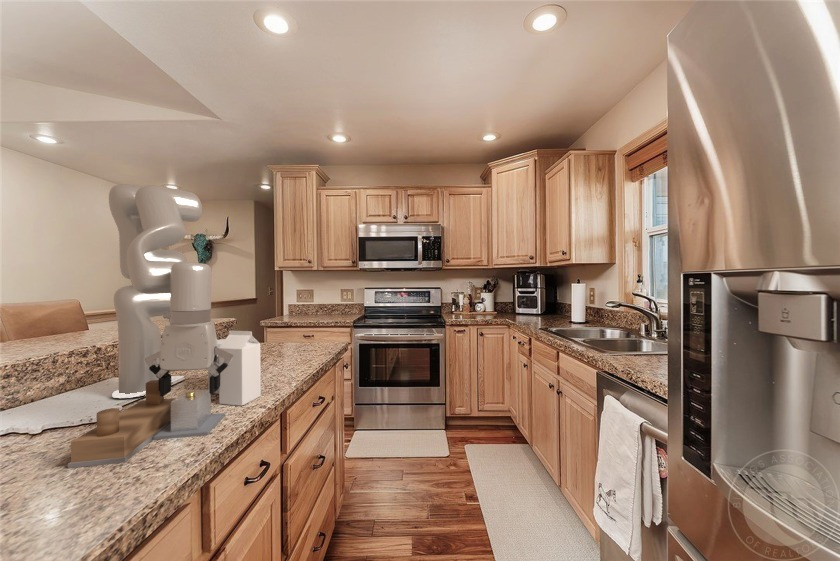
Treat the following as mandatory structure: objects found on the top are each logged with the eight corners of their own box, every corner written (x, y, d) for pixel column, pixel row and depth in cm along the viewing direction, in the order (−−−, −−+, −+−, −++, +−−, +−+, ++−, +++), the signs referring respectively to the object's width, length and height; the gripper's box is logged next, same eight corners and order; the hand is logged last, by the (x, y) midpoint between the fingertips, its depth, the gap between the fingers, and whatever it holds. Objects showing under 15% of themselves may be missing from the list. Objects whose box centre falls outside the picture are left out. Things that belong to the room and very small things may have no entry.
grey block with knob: (186, 418, 76) (186, 387, 76) (210, 416, 77) (210, 385, 77) (170, 432, 69) (170, 398, 69) (197, 429, 70) (197, 396, 70)
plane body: (141, 419, 77) (140, 379, 77) (182, 415, 79) (181, 376, 79) (67, 468, 57) (67, 414, 57) (125, 462, 59) (124, 409, 59)
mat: (178, 419, 76) (178, 417, 76) (225, 415, 79) (225, 413, 79) (153, 439, 67) (153, 437, 67) (207, 434, 69) (207, 431, 69)
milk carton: (242, 406, 84) (241, 333, 84) (219, 404, 86) (218, 332, 86) (260, 396, 91) (260, 329, 91) (239, 395, 93) (238, 328, 93)
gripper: (135, 320, 67) (134, 401, 68) (227, 320, 71) (226, 397, 72) (156, 315, 75) (155, 388, 75) (238, 315, 78) (237, 385, 79)
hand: (190, 392), depth 73 cm, fingers open, 9 cm apart
